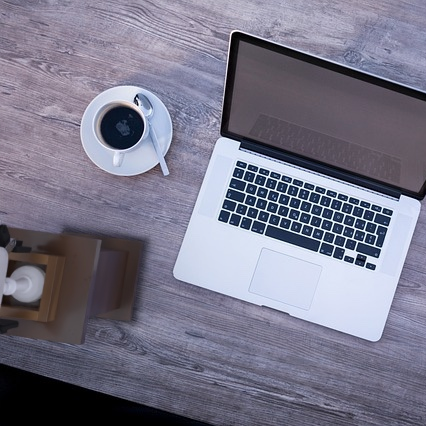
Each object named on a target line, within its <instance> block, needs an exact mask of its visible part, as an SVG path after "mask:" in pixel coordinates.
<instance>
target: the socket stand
mask: <svg viewBox="0 0 426 426" xmlns="http://www.w3.org/2000/svg"><path fill="white" fill-rule="evenodd" d="M7 228H8V231H9V234H10V237H11V238H14V239H16V240H21V241H23V243H22V246H26V247H32V250H31V251H30V253H13V252H10V253H9V255H8V266H7V272H6V278H10V276H11V275H12V273H13V272H14V271H15V270H16V269H18V268H20V267H22V266H25V265H34V266H37V267H39V268H41V269H42V270H43V271H44V272H45V279H44V285H43V291H42V297H41V298H40V299H39V300H37V301H35V302H30V303H26V302H21V301H18V300H17V299H15V298H14V297H13V296H12V295H4V294H3V295H2V301H1V306H0V318H1V319H8V320H15V321H18V323H19V325H18V327H16V328H12V329H9V330H7V333H4V334H2V335H3V336H11V337H18V338H26V339H34V340H40V341H48V342H54V343H61V344H70V345H75V346H82V345H84V344H85V342H86V337H87V330H88V324H89V319H90V318H89V313H90V307H91V301H92V295H93V289H94V283H95V277H96V271H97V265H98V259H99V253H100V247H101V241H102V240H99V239H92V238H84V237H77V236H70V235H63V234H62V233H55V232H48V231H43V230H42V231H40V230H33V229H26V228H19V227H14V226H13V227H12V226H7Z"/></svg>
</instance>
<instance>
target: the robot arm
mask: <svg viewBox="0 0 426 426" xmlns="http://www.w3.org/2000/svg"><path fill="white" fill-rule="evenodd" d="M7 227H8V225H7V224H4V223H3V221H2V219H1V218H0V306H1V301H2V295H3V290H4V284H5V278H6V272H7V266H8V255H9V253H10V252H13V253H30V251H31V250H32V247H26V246H22V243H23V241H21V240H16V239H14V238H11V237H10V234H9V231H8V228H7ZM18 325H19V323H18V321H15V320H8V319H1V318H0V336H1V335H3V334H4V333H7V330H9V329H12V328H16V327H18Z"/></svg>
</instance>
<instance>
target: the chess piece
mask: <svg viewBox="0 0 426 426" xmlns="http://www.w3.org/2000/svg"><path fill="white" fill-rule="evenodd" d="M44 279H45V272H44V271H43V270H42V269H41V268H39V267H37V266H34V265H25V266H22V267H20V268H18V269H16V270H15V271H14V272H13V273H12V275H11V276H10V278H5V284H4V290H3V294H4V295H12V296H13V297H14V298H15V299H17V300H18V301H21V302H26V303H30V302H35V301H37V300H39V299H40V298H41V297H42V291H43V285H44Z"/></svg>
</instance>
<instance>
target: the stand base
mask: <svg viewBox="0 0 426 426" xmlns="http://www.w3.org/2000/svg"><path fill="white" fill-rule="evenodd" d="M61 234H63V235H70V236H77V237H84V238H92V239H99V240H102V241H101V247H100V253H99V259H98V265H97V271H96V277H95V283H94V289H93V295H92V301H91V307H90V313H89V319H90V318H99V319H106V320H107V319H108V320H113V321H114V320H115V321H122V322H127V323H129V322H132V321H133V316H134V315H133V314H134V309H135V302H136V298H137V291H138V284H139V279H140V273H141V267H142V266H141V265H142V260H143V253H144V247H145V241H141V240H132V239H127V238H119V237H112V236H105V235H98V234H97V235H96V234H91V233H85V232H84V233H82V232H77V231H68V230H62V233H61Z"/></svg>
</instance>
